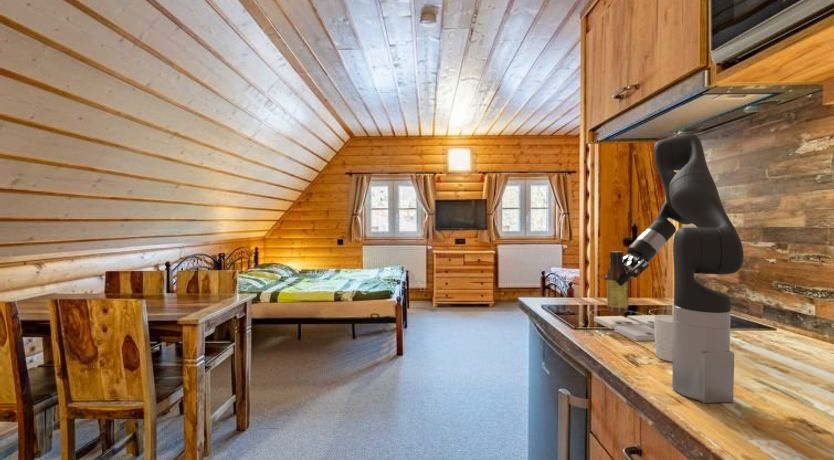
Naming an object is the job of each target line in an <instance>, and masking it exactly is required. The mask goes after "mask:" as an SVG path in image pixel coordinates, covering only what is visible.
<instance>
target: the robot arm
mask: <svg viewBox="0 0 834 460" xmlns="http://www.w3.org/2000/svg"><path fill="white" fill-rule="evenodd" d="M653 156H654V162H655V166H656V167H655V168H656V169H657V172H658V175H659V178H660V181H661V183H662V186H663V188H664V195H665V201H664V202H663V204H662V206H661V208H660V211H659V213H658V214H657V216H656V217H655V219H654V221H653V222H652V223H651V224H650V225H649V226H648V227H647V228H646V229H645V230H644V231H643V232H641V234H640V235H639V236H638V237H637V238H635V240H634V241H633V242H632V243H631V244H630V245H629V246H628V247H627V254H626V255H623V265H624V268H625V273H623V274H622V275H621V276H620V277H619V278H618V279H617V281H616V282H617V283H618V284H619V285H620V286H622V285H623V284H624V283H625V282H626V281H627V280H629V279H632V278H638V277H639V276H640V275H641V274H642V273H643V272H644V271H645V270H646V269H648V267H650V264H649V262H650V261H651V260H652V259H653V258H655V256H656V255H657V254H658V253H659V252H660V251H661V250H662V249H663V247H664V245H665V244H666V243H667V242H668V241H669V240H670V239H671V238H672V237H673V241H672V256H673V258H672V260H673V275H674V276H673V316H674V319H673V362H672V377H671V378H672V381H671V386H672V387H671V388H672V389H673V390H674V391H675V392H677V393H679V394H680V395H682V396H684V397H688V398H690V399H694V400H697V401H700V402H701V403H703V404H709V403H710V404H713V403H715V404H716V403H732V402H734V394H735V393H734V391H735V390H734V389H735V386H734V385H735V383H734V382H735V352H733V351H731V349H730V345H731V314H732V313H731V312H732V310H731V309H732V308H731V307H732V302H731V301H732V300H731V298H730V295H729V296H728V294H726V293H723V292H721V291H717V290H715V289H712V288H709V287H706V286H704V285H703V284H701V283H699V282H698V281H697V280H696V278H695V274H700V275H701V274H703V275H719V276H720V275H732V274H735V273H737V272H739V270H741V268H742V266H743V264H744V258H745V257H744V247H743V244H742V240H741V238H740V236H739V233H738V231H737V229H736V227H735V226H734V224H733V223H732V221H731V219H730V218H729V216H728V214H727V213H726V210H725V208H724V206H723V203H722V200H721V197H720V192H719V190H718V188H717V184H716V182H715V181H714V179H713V176H712V175H711V172H710V169H709V168H708V165H707V159H706V157H705V151H704V148H703V144H702V141H701V140H700V138H699V136H698V135H696V134H694V133H686V134H682V135H677V136H673V137H669V138H664V139H661V140H657V141H656V142H655V144H654V146H653ZM676 171H677V172H676ZM669 219H671V220H673V221H675V222H677V223H679V224H681V225H691V224H692V225H694V226H693V227H690V226H689V227H680V228H678V229H677V228H676V226H675V224H674V223H672V222H671V221H670V220H669ZM695 226H696V227H695ZM604 280H605V281H606V282H607V275H605V276H604Z"/></svg>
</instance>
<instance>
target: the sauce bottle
mask: <svg viewBox="0 0 834 460" xmlns="http://www.w3.org/2000/svg"><path fill="white" fill-rule="evenodd" d="M609 257H610V261H609V264H610V266H609V267H608V268H607V270H606V276H607V281H606V304H607V305H606V306H607V311H608V312H610V313H615V314H625V313H628V311H629V284H628V283H629V281H628V280H629V279H628V280H627V281H626V282H625V283H624V284H623V285H622V286H620V285H619V284H618V283H617V282H616V281H617V279H618V278H619V277H620V276H621V275H622V274H623V273H625V268H624V265H623V257H624V251H618V250H617V251H615V250H613V251H609Z"/></svg>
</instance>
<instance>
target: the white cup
mask: <svg viewBox="0 0 834 460" xmlns="http://www.w3.org/2000/svg"><path fill="white" fill-rule="evenodd" d="M673 319H674V314H673V315H672V314H656V315H655V316H654V328H653V329H654V334H655V340H654V346H655V356H656V357H657V358H658V359H660V360H662V361H666V362H670V363H673Z"/></svg>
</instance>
